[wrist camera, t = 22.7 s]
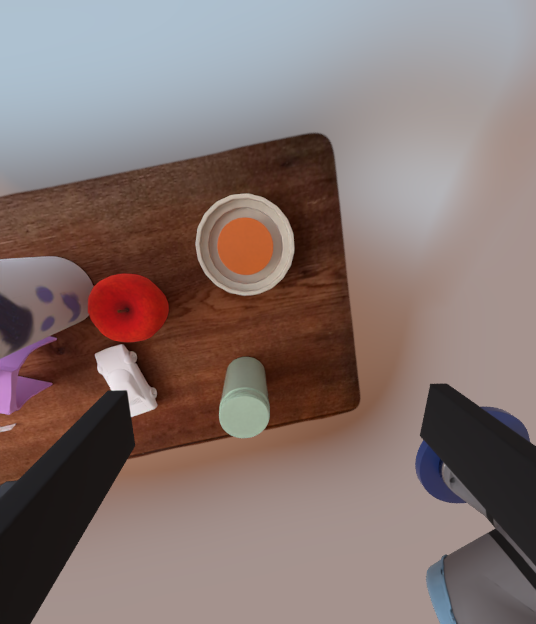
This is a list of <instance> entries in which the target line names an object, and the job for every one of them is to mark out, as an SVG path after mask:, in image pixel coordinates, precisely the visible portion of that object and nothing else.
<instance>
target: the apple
mask: <svg viewBox="0 0 536 624" xmlns="http://www.w3.org/2000/svg"><path fill="white" fill-rule="evenodd" d="M168 312H169V304H168V301H167V299H166V296H165V295H164V294H163V292H162V291H161V290H160V289H159V288H158V287H157V286H156V285H155V284H154V283H153V282H151V281H150V280H149V279H148V278H146V277H143V276H141V275H137V274H117V275H111V276H109V277H107V278H105V279H103V280H101V281H99V282H98V283H97V284H96V285H95V286H94V287H93V289H92V291H91V293H90V295H89V297H88V314H89V316H90V319H91V321H92V322H93V323H94V325H95V326H96V327H97V328H98V329H99V331H100V332H101V333H102V334H103V335H104V336H106V337H108V338H110V339H111V340H114V341H120V342H137V341H142V340H146V339H148V338H150V337H152V336H153V335H154V334H155V333H156V332H157V331H158V330H159V329H160V328H161V327H162V326H163V324H164V323H165V321H166V319H167V316H168Z"/></svg>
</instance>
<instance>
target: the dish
mask: <svg viewBox="0 0 536 624" xmlns="http://www.w3.org/2000/svg"><path fill="white" fill-rule="evenodd" d="M242 217H247V218H252V219H255V220H257V221H259V222H261V223H262V224H263V225H264V226H265V227H266V228H267V229H268V231H269V232H270V234H271V237H272V240H273V254H272V257H271V260H270V261H269V263H268V264H267V266H266V267H265V268H264V269H262V270H261V271H259V272H258V273H255V274H252V275H240V274H237V273H234V272H232V271H231V270H229V269H228V268H227V267H226V266H225V265H224V264H223V262H222V261H221V259H220V257H219V254H218V249H217V242H218V237H219V234H220V232H221V230H222V229H223V228H224V226H225V225H226V224H228V223H229V222H230V221H232V220H234V219H237V218H242ZM195 245H196V251H197V257H198V261H199V263H200V265H201V267H202V269H203V271H204V273H205V274H206V275H207V277H208V278H209V279H210V280H211V281H212V282H213V283H214V284H215V285H216V286H218V287H220V288H222V289H224V290H225V291H227V292H230V293H233V294H238V295H243V296H246V295H255V294H260V293H262V292H265V291H267V290H269V289H271V288H273V287H274V286H275V285H276V284H277V283H278V282H280V281H281V280H282V279H283V278H284V276H285V274H286V273H287V271H288V269H289V268H290V266H291V263H292V259H293V255H294V250H295V249H294V235H293V232H292V229H291V226H290V224H289V221H288V219H287V218H286V216H285V215H284V214H283V213H282V211H281V210H280V209H279V208H278V207H277V206H276V205H275V204H273V203H271V202H270V201H268V200H267V199H265V198H263V197H260V196H256V195H252V194H236V195H230V196H228V197H226V198H224V199H222V200H219V201H217V202H216V203H215V204H214V205H213V206H212V207H211V208H210V209H209V210H208V211H207V212H206V213H205V214H204V216H203V218H202V220H201V222H200V224H199V226H198V229H197V236H196V243H195Z"/></svg>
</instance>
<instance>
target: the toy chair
mask: <svg viewBox="0 0 536 624" xmlns="http://www.w3.org/2000/svg"><path fill="white" fill-rule="evenodd" d="M56 340H57V338H55V337H51V336H49V337H46V338H44V339H42V340H40V341H38V342H36V343H34V344H31V345H29V346H27V347H25V348H23V349H21V350H18V351H16V352H14V353H12V354H10V355H8V356H5V357H3V358H1V359H0V413H3V414H8V415H10V414H11V413H13V412H14V411H18V410H19V409H21V407H22V406H23V405H24V403H25V402H26V401H27V400H29V399H30V398H31V397H33V396H34V395H36V394H37V393H39V392H41V391H42V390H44V389H46V388H48V387H50V386H52V383H50V382H45V381H40V380H35V379H30V378H26V377H21V376H18V373H19V370H20V368H21V366H22V365H23V363H24V362H25V360H26V358H27V357H28V355H29V354H30V353H31V352H33V351H34V350H36V349H37V348H39V347H41V346H43V345H46V344H48V343H51V342H53V341H56Z"/></svg>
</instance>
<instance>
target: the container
mask: <svg viewBox="0 0 536 624" xmlns="http://www.w3.org/2000/svg"><path fill="white" fill-rule="evenodd" d="M93 287H94V286H93V284H92V282H91V280H90V278H89V277H88V275H87V274H86V273H85V272H84V271H83V270H82V269H81V268H80V267H79V266H78V265H76V264H75V263H73V262H71V261H69V260H67V259H64V258H60V257H55V256H45V257H29V258H13V259H0V359H1V358H3V357H5V356H8V355H10V354H12V353H14V352H16V351H18V350H21V349H23V348H25V347H27V346H29V345H31V344H34V343H36V342H38V341H40V340H42V339H44V338H46V337H49V336H51V335H53V334H55V333H57V332H59V331H62V330H64V329H66V328H68V327H70V326H72V325H75V324H77V323H79V322H81V321H83V320H84V319H86V318H87V317H88V316H89V314H88V297H89V295H90V293H91V291H92V289H93Z"/></svg>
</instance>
